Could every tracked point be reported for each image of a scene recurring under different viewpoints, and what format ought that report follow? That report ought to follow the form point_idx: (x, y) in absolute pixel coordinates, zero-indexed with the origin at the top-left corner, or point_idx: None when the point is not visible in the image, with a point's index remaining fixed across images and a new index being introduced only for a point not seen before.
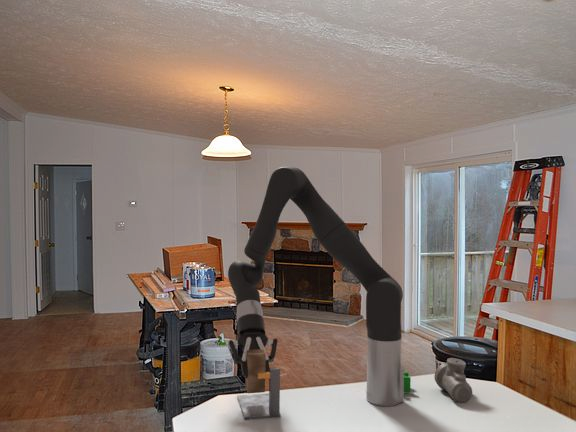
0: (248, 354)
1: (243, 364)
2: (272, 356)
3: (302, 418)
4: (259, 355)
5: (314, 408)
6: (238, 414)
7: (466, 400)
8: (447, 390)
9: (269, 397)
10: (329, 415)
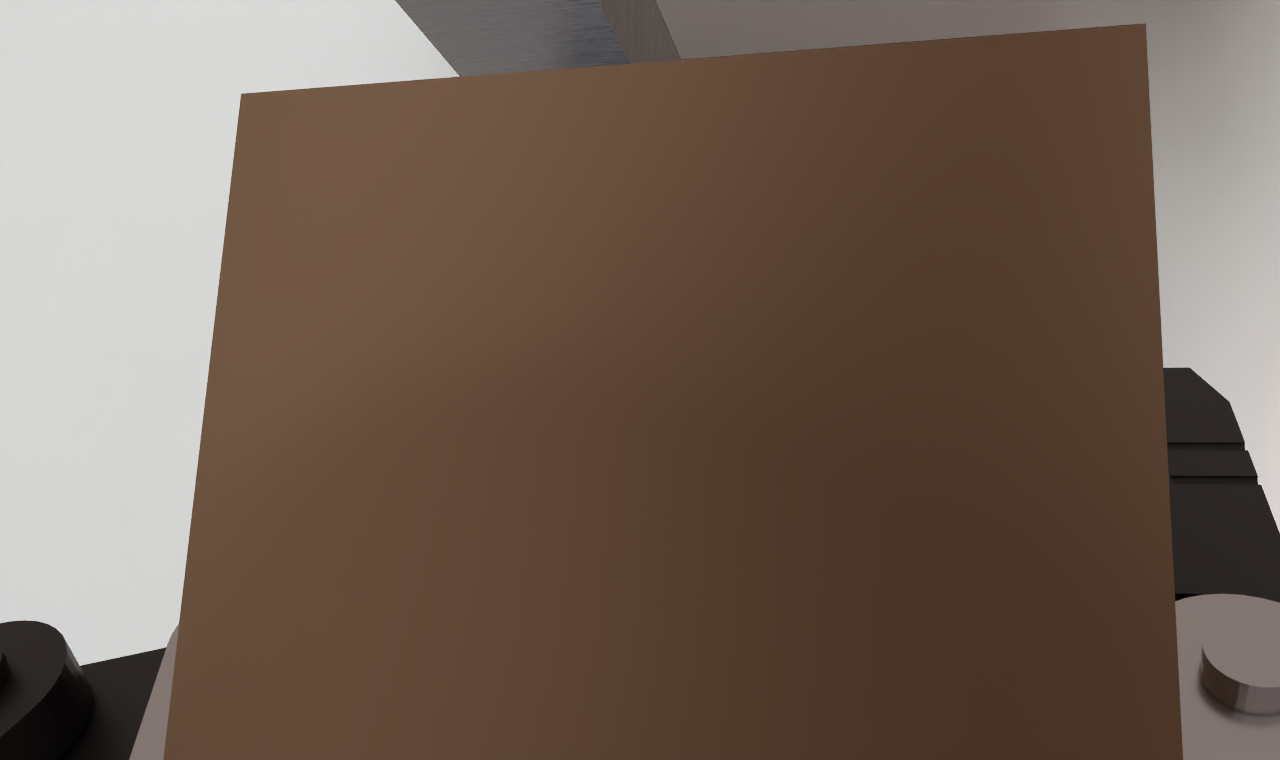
0: (1139, 71)
1: (1233, 578)
2: (6, 666)
3: (323, 57)
4: (548, 96)
5: (85, 334)
6: (1161, 308)
7: None
8: None
9: (647, 51)
10: (16, 103)
